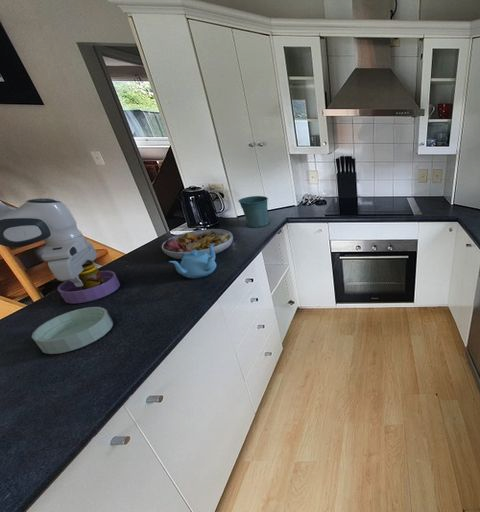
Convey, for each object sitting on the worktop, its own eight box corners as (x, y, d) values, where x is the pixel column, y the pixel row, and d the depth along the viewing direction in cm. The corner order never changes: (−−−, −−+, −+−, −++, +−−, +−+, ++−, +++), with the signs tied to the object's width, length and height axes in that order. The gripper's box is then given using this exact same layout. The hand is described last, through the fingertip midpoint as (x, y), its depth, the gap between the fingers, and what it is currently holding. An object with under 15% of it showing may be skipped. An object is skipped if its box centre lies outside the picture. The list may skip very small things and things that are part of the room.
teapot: (184, 267, 121) (176, 246, 116) (222, 261, 126) (216, 241, 122) (176, 284, 109) (168, 261, 104) (219, 276, 114) (213, 255, 110)
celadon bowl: (28, 361, 73) (17, 348, 71) (58, 326, 85) (50, 314, 83) (102, 345, 79) (94, 331, 77) (120, 314, 91) (114, 302, 89)
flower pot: (248, 230, 161) (243, 204, 154) (240, 223, 172) (234, 198, 165) (276, 225, 171) (272, 200, 164) (266, 218, 182) (262, 194, 175)
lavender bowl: (55, 308, 93) (47, 296, 91) (76, 286, 106) (70, 275, 103) (112, 298, 99) (106, 286, 97) (126, 278, 112) (121, 267, 109)
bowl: (217, 233, 157) (213, 220, 154) (245, 246, 142) (242, 232, 138) (155, 250, 135) (149, 236, 132) (180, 268, 120) (174, 252, 116)
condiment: (109, 291, 103) (94, 263, 97) (77, 300, 97) (60, 271, 92) (108, 283, 107) (94, 256, 102) (77, 291, 102) (61, 263, 97)
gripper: (70, 235, 101) (88, 268, 107) (37, 258, 84) (60, 295, 91) (93, 233, 103) (108, 265, 110) (65, 255, 87) (85, 291, 93)
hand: (86, 279), depth 100 cm, fingers open, 8 cm apart
